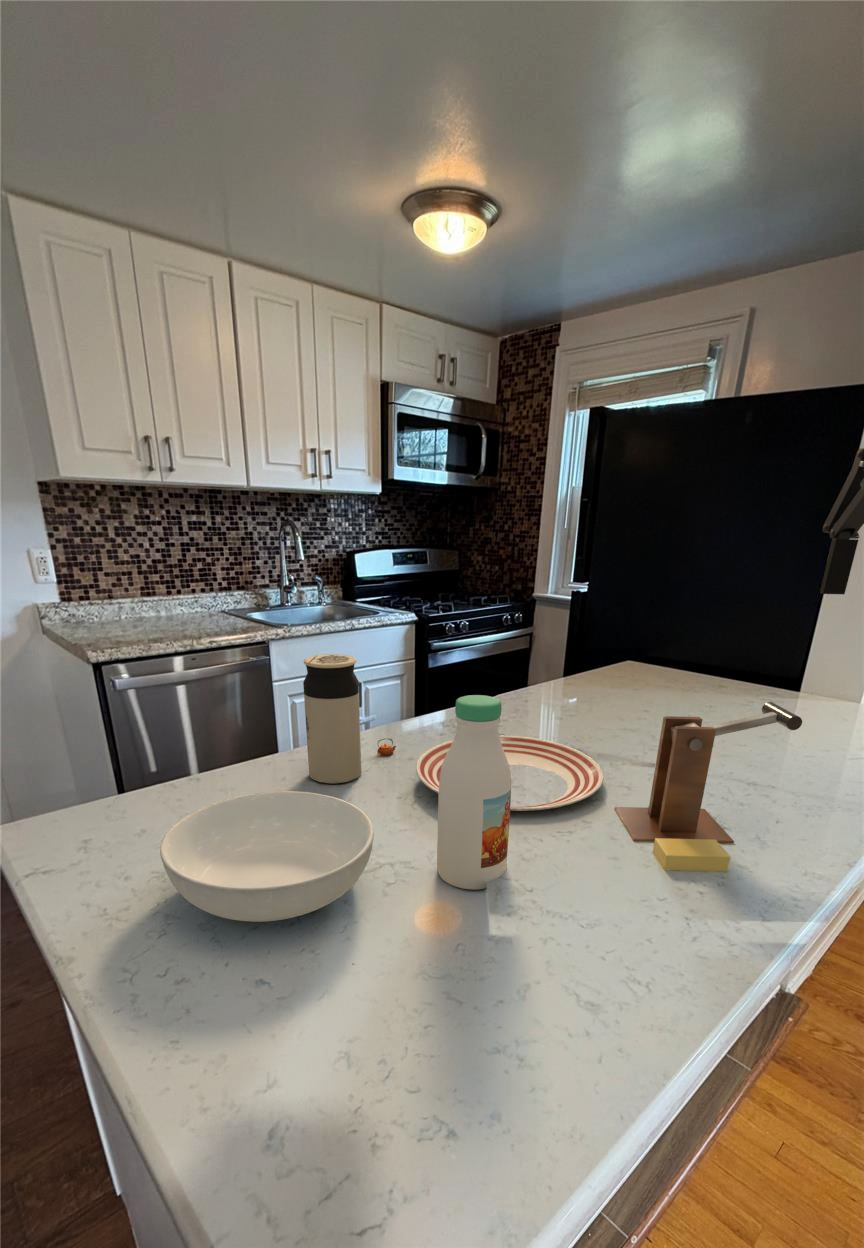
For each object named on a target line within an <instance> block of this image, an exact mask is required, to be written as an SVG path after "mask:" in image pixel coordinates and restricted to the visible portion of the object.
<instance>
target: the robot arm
mask: <svg viewBox="0 0 864 1248" xmlns="http://www.w3.org/2000/svg"><path fill="white" fill-rule="evenodd" d="M863 525H864V447H863V448H862V447H861V448H859V449H858V450H857V451H856V454H855V457H854V461H853V464H852V467H851V470H850V472H849V474H848V476H847V478H846V480H845V482H844V483H843V486H842V488H841V490H840V492H839V494H838V495H837V498H836V500H835V502H834V503H833V506H832V508H831V509H830V512H829V514H828V516H827V518H826V519H825V522H824V523H823V526H822V532H823V533H825V534H829V538H830V539H831V543H830V548H829V551H828V552H829V553H828V556H827V560H826V564H825V570H824V574H823V577H822V582H821V587H820V590H819V594H821V595H846V594H845V593H846V591H847V587H848V583H849V579H850V575H851V571H852V568H853V563H854V559H855V556H856V551H857V547H858V544H859V539H860V534H859V531H860V530H861V528H862V527H863Z"/></svg>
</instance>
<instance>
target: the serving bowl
mask: <svg viewBox="0 0 864 1248" xmlns="http://www.w3.org/2000/svg"><path fill="white" fill-rule="evenodd" d="M374 836H375V832H374V826H373V823H372V821H371V819H370V817H369V816H368V815H367V814H366V813H365V812H364V811H363V810H362V809H360V808H359V807H357V806H356V805H354V804H352V803H350V802H349V801H346V800H344V799H341V798H338V797H335V796H332V795H331V796H330V795H327V794H322V793H315V792H309V791H294V790H293V791H291V790H290V791H289V790H288V791H287V790H286V791H285V790H283V791H282V790H281V791H266V792H265V791H264V792H257V793H250V794H249V793H248V794H243V795H239V796H234V797H231V798H227V799H223V800H220V801H217V802H214V803H211V804H208V805H205V806H203V807H201V808H199V809H197V810H195V811H193V812H191V813H189V814H187V815H185V816H184V817H182V818H181V819H179V820H178V821H177V822H176V823H174V825H173V826H172V827H171V828H170V829H168V831H167V832H166V833H165V834H164V836H163V838H162V840H161V843H160V847H159V855H160V859H161V862H162V865H163V868H164V870H165V873H166V875H167V877H168V879H169V881H170V883H171V884H172V886H173V887H174V888H175V890H176V891H177V892H178V893H179V894H180V895H181V896H182V897H183V898H184V899H185V900H186V901H187V902H189V903H190V904H192V905H193V906H194V907H196V908H198V909H200V910H201V911H204V912H206V913H208V914H211V915H213V916H216V917H219V918H223V919H228V920H233V921H239V922H240V921H241V922H258V923H259V922H261V923H262V922H273V921H282V920H287V919H291V918H292V919H293V918H296V917H300V916H303V915H307V914H309V913H312V912H314V911H318V910H320V909H321V908H324V907H325V906H328V905H329V904H331V903H333V902H334V901H336V900H338V899H339V898H340V897H342V896H343V895H344V894H345V893H346V892H348V891H349V890H350V889H351V888H352V887H353V885H355V884H356V882H357V881H358V880H359V878H360V877H361V876H362V874H363V872H364V870H365V869H366V867H367V865H368V863H369V860H370V857H371V854H372V849H373V844H374V838H375V837H374Z"/></svg>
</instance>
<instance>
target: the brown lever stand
mask: <svg viewBox="0 0 864 1248" xmlns="http://www.w3.org/2000/svg"><path fill="white" fill-rule="evenodd" d="M689 723H695V724H696V725H698V726H699V727H682V726H681V725H685V724H689ZM702 725H703V718H701V717H700V716H672V715H671V716H670V715H669V716H668V715H664V716H663V717H662V723H661V730H660V736H659V742H658V748H657V756H656V761H655V767H654V771H653V773H654V774H653V779H652V785H651V792H650V798H649V803H648V804H649V805H648V807H641V806H640V807H637V806H614V808H613V809H614V811H615V813H616V815H617V816H618V818H619V819H620V822H622V824H623V826H624V828H625V830H626V831H627V833H628V835H629V836H630V838H631V840H632V841H633V842H641V843H643V842H645V843H646V842H647V843H649V842H650V843H654V842H655V838H665V839H711V840H716V841H717V842H718V843H719V844H734V843H735V840H734V839H733V838H732V837H731V836H730V835H729V833H727V832H726V831H725V829H724V828H723V827H722V826H721V825H720V824H719V823H718V822H717V821H716V819H715V818H714V817H713V816H712V815H711V814H710V813H709V812H708V811H707V810H706V809H705V808H702V804H703V798H704V793H705V788H706V784H707V779H708V773H709V767H710V763H711V759H712V753H713V748H714V742H715V738H716V736H715V733H716V729H715V728H713V727H708V726H702ZM672 727H675V731H674V736H673V742H672V735H671V728H672Z"/></svg>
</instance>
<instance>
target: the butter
mask: <svg viewBox="0 0 864 1248" xmlns="http://www.w3.org/2000/svg"><path fill="white" fill-rule="evenodd" d="M652 853H653V856H654V857H655V858H656V861H658V863H659V865H660V866H661V868H662V869H663V871H689V872H691V871H692V872H693V871H695V872H728V870H729V866H730V862H731V856H730V854H729V853H728V852H727V851H726V850H725V848H724V847H723V846H722V845H721V843H718V842H717V841H716V840H711V839H665V838H655V842H653V847H652Z"/></svg>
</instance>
